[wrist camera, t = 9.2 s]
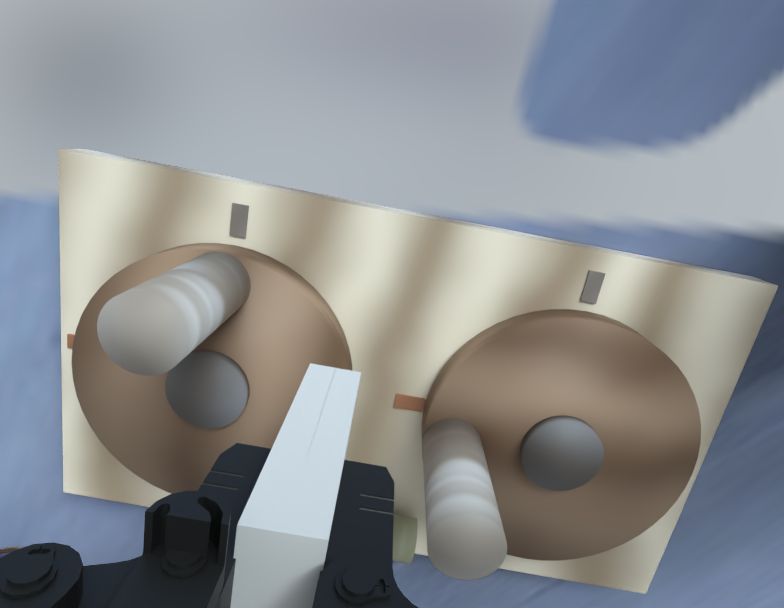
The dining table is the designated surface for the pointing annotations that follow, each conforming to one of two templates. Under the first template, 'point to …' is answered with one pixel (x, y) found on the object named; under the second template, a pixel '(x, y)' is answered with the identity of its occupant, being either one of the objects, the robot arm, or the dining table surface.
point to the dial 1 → (198, 357)
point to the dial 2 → (552, 442)
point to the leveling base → (396, 315)
